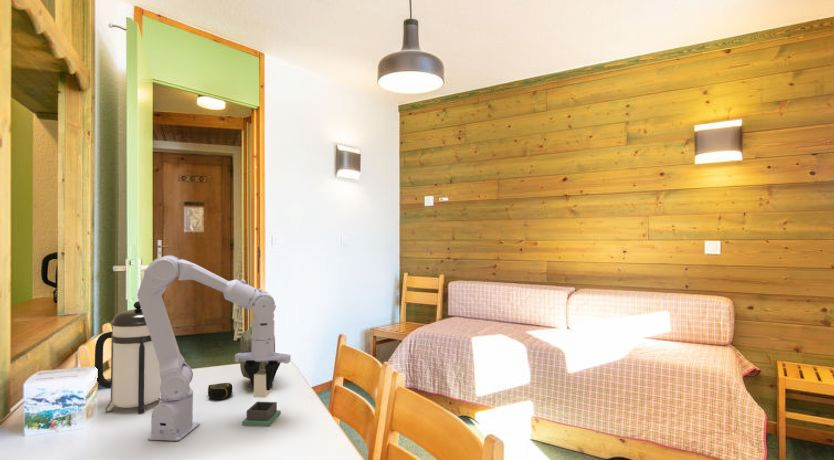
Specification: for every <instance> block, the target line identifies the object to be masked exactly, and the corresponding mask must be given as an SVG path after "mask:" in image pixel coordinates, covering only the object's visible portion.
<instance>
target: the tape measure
mask: <svg viewBox="0 0 834 460" xmlns="http://www.w3.org/2000/svg"><path fill="white" fill-rule="evenodd" d="M232 384H233V383H230V382H223V383H221V382H220V383H214V384H209V385H208V387H207V395H208V398H209V399H211V400H222V399H223V400H224V399H225V398H226V399H227V398H229V397H230V396H232V394H233V385H232Z"/></svg>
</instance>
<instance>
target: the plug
mask: <svg viewBox="0 0 834 460" xmlns="http://www.w3.org/2000/svg"><path fill="white" fill-rule="evenodd" d="M266 381H267V378H266V370H265V369H260V370H259V371H258V372H257V373H255V374H254V390H253V398H263V399H264V398H267V397H268V396H269V395H270V394H271V393H272V388H271V389H270V390H267V388H266Z"/></svg>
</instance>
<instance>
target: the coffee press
mask: <svg viewBox="0 0 834 460" xmlns="http://www.w3.org/2000/svg"><path fill="white" fill-rule="evenodd" d="M110 325H111V327H112V331H108V332H104V333H101V334H100V336H98V338H97V340H96V342H95V345H94V346H95V348H94V368H95V367H96V368H97V369H98V378H97V380H96V382H97V384H99V386H101V387H102V388H105V389H110V400H109V402H108V403H107V405H106V406H105V408H104V409H105V412H106V413H111V412H112V411H113V410H114V409H117V408H124V409H125V408H127V409H130V408H137V413H138V415H141V414H145V412H146V410H145V406H146V405H149V404H152V403H153V402H155V401H157V400H159V401H160V398H161V392H160V385H161V377H160V369H159V361H158V358H157V355H156V352H155V349H154V346H153V343H152V340H151V337H150V333H149V330H148V327H147V324H146V321H145V318H144V315H143V312H142V309H141V306H140V303H139V300H138V301H135V302H134V304H133V309H128V310H124V311H120V312H119V313H117V314H116V315H115V316H114V317H113V319H112V320H111V322H110ZM108 339H111V347H110V349H111V352H110V353H111V354H110V355H111V356H110V359H111V360H110V361H111V362H110V380H107V379H106V378H105V376H104V345H105V342H106V341H107V340H108ZM111 404H113V406H112V407H111V408H110V409H109V410H108V408H109V407H110V406H111Z"/></svg>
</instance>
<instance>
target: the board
mask: <svg viewBox="0 0 834 460" xmlns="http://www.w3.org/2000/svg"><path fill="white" fill-rule="evenodd" d="M277 407H278V402H277V401H276V402H275V401H256V402H255V403H254V404H253V405H252V406H250V407H249V408H248V409H247V410H246V417H245V418H244V419H243V420H242V423H241V424H242V425H241V426H245V427H246V426H248V427H271V425H272V424H273V423H274V422H275V421H276V419H277V418H279V416H280V415H281V412H282V410H280V409H278V408H277Z"/></svg>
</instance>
